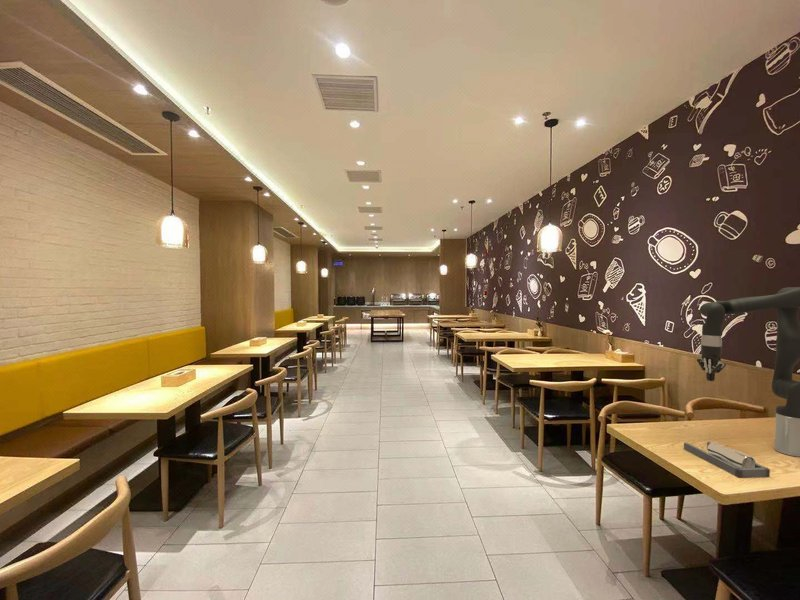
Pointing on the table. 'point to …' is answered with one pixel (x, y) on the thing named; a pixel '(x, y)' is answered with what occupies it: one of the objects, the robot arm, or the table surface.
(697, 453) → the u rest
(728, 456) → the beer glass
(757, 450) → the table surface
